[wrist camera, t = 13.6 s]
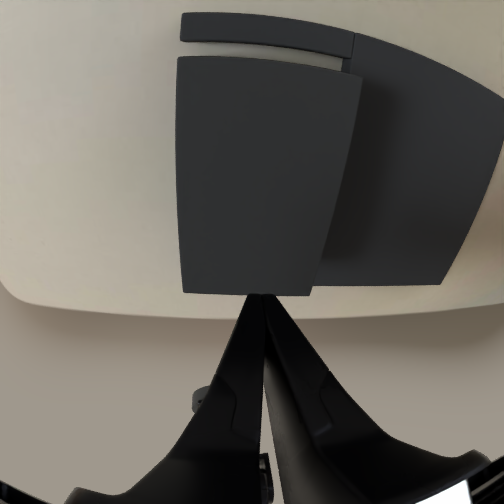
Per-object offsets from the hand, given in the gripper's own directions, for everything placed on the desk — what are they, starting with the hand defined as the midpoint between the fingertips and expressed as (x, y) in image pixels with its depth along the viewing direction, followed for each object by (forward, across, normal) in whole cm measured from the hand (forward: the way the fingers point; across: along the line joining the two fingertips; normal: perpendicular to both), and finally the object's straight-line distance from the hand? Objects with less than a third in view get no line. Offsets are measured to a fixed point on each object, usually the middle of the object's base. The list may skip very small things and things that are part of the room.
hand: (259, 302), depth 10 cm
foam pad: (+7, 0, -2) cm, 7 cm away
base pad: (+7, -4, -2) cm, 9 cm away
